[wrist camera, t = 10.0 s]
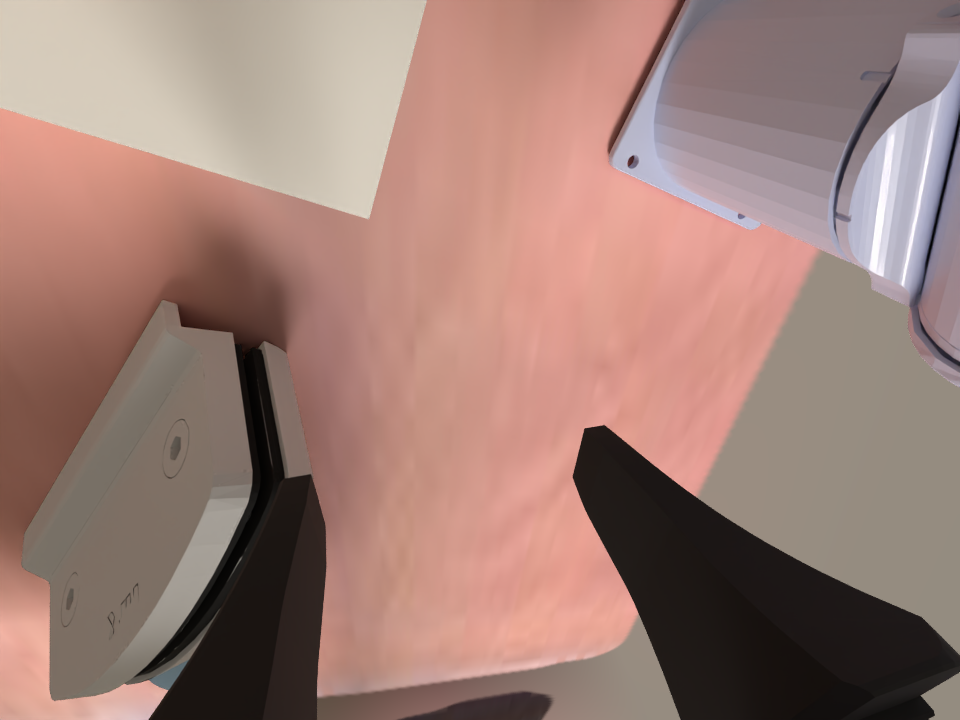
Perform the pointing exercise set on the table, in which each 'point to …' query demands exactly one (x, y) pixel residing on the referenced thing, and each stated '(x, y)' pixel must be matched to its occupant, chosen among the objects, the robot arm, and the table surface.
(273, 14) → the well block
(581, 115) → the table surface
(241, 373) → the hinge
